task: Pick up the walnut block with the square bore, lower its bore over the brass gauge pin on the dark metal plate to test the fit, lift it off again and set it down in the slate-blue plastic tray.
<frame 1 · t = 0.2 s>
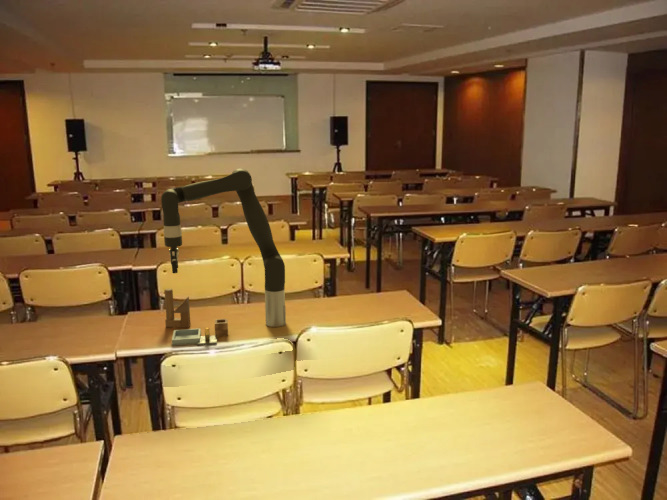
hand: (175, 270, 250), 28 cm above the table, fingers open, 8 cm apart
brown upright angular piece: (178, 326, 262), on the table
bored block: (221, 333, 253), on the table
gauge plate: (207, 341, 244), on the table
tray: (186, 339, 246), on the table
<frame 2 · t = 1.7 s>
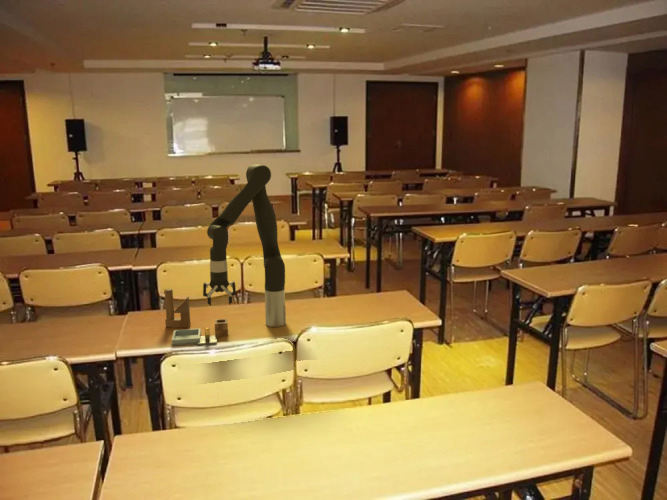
hand: (220, 304, 250), 14 cm above the table, fingers open, 8 cm apart
nothing on the table moved.
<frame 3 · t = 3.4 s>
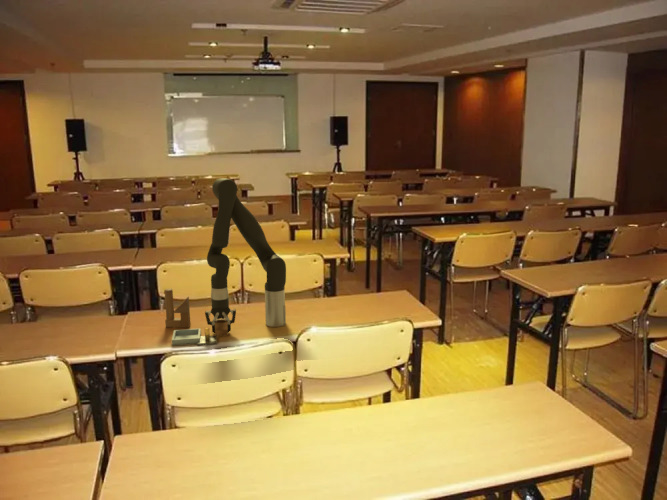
hand: (221, 332, 253), 1 cm above the table, fingers closed on bored block, 5 cm apart
bored block: (221, 333, 253), on the table, touching gripper
everything else where it was.
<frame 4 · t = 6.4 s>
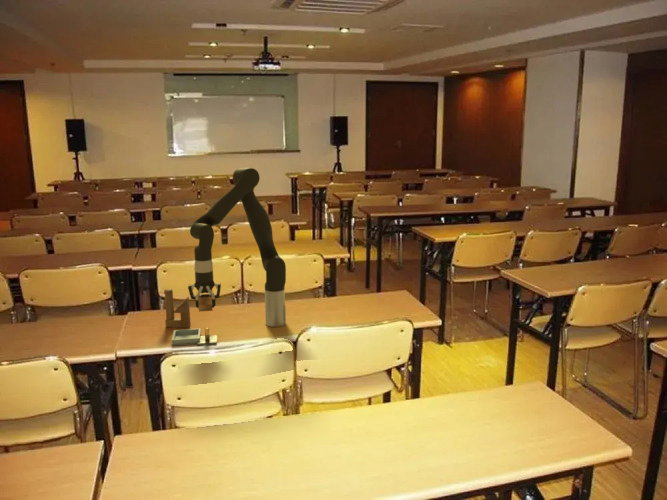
hand: (205, 307, 241), 16 cm above the table, fingers closed on bored block, 5 cm apart
bored block: (205, 308, 241), point 15 cm above the table, touching gripper
everything else where it was.
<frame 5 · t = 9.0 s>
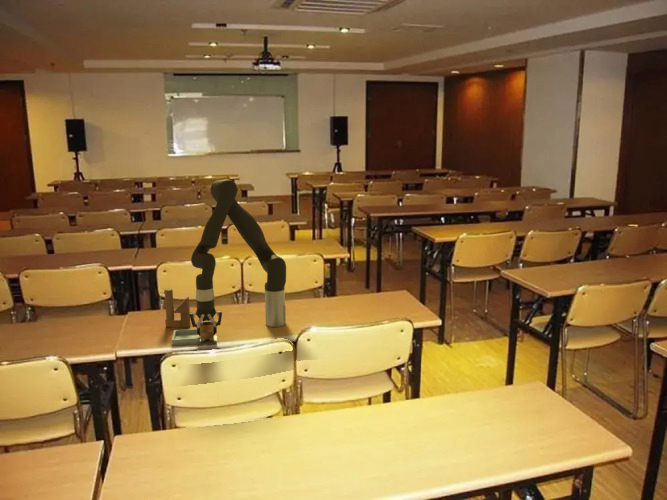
hand: (207, 334, 243), 3 cm above the table, fingers closed on bored block, 5 cm apart
bored block: (207, 336, 244), point 2 cm above the table, touching gripper
everything else where it was.
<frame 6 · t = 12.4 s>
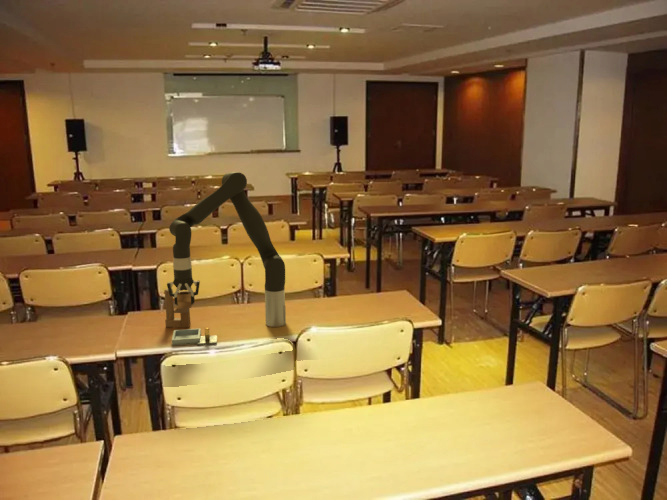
hand: (184, 304, 243), 16 cm above the table, fingers closed on bored block, 5 cm apart
bored block: (184, 306, 243), point 15 cm above the table, touching gripper
everything else where it was.
when the fingers open (3 cm above the table, at t = 15.0 s): bored block drops 2 cm, resting on tray.
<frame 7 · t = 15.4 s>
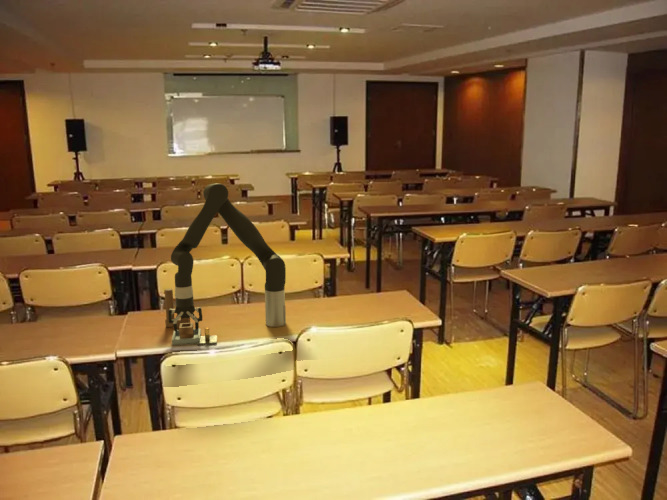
hand: (186, 330, 245), 4 cm above the table, fingers open, 8 cm apart
bored block: (187, 338, 246), point 1 cm above the table, touching tray
everything else where it was.
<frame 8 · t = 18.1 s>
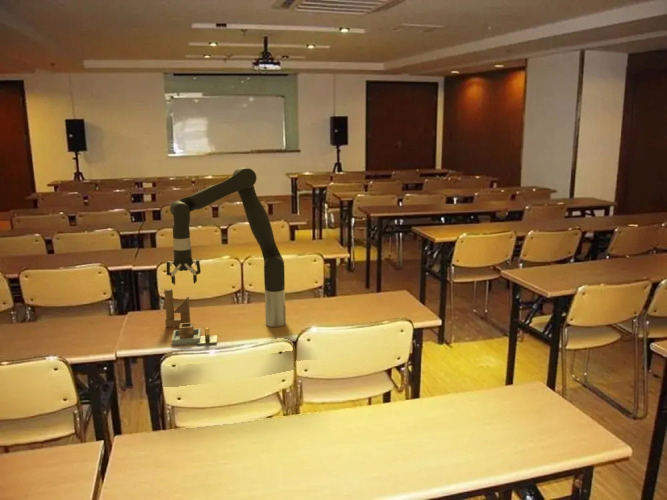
hand: (184, 283, 245), 24 cm above the table, fingers open, 8 cm apart
nothing on the table moved.
at the end: bored block inside the target area on the tray (0.1 cm from its centre), point 0.6 cm above the tray's base; bored block tilted 0°; the gripper is holding nothing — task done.
